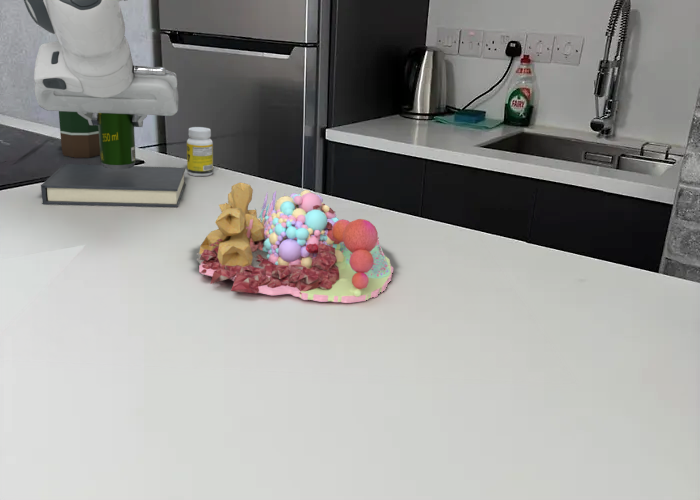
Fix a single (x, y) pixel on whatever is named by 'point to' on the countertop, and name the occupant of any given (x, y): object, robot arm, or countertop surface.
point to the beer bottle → (78, 136)
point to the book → (114, 186)
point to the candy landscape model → (294, 250)
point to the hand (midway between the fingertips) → (116, 122)
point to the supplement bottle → (199, 152)
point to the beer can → (116, 140)
